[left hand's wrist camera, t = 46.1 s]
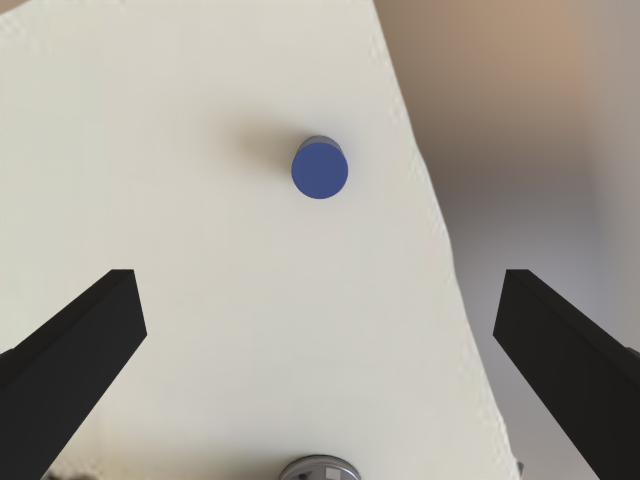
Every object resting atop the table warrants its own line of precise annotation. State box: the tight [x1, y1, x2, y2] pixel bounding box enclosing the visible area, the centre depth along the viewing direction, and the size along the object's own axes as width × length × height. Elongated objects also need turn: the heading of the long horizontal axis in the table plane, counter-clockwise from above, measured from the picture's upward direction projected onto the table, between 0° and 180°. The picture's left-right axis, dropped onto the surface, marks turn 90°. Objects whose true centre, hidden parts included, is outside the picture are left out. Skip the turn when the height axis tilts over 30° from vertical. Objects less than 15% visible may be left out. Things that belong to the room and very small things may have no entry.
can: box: [292, 136, 348, 199], centre depth 41 cm, size 6×6×8 cm
